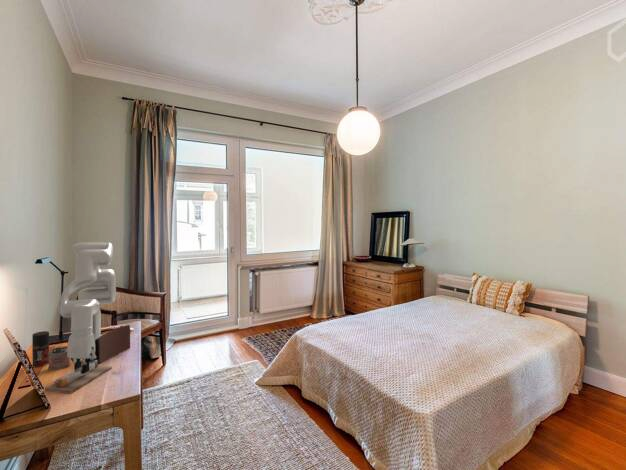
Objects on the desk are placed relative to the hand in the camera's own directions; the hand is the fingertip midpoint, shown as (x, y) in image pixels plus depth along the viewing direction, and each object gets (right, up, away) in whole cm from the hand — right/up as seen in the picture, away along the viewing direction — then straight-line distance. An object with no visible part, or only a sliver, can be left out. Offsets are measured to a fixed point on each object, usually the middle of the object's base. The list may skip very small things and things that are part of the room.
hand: (81, 371), depth 134 cm
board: (+1, -2, -2) cm, 3 cm away
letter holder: (-4, -2, +23) cm, 24 cm away
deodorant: (-28, -1, +11) cm, 30 cm away
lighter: (-17, -2, +8) cm, 19 cm away
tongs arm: (0, -1, -3) cm, 3 cm away
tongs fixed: (0, -1, -1) cm, 2 cm away
